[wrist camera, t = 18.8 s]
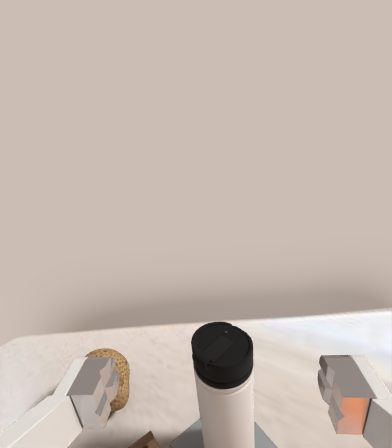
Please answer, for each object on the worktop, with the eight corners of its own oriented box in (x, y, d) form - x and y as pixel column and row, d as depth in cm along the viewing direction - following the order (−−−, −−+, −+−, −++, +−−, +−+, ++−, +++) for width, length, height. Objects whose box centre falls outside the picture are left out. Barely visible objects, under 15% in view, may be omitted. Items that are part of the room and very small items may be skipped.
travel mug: (193, 460, 33) (174, 342, 25) (225, 418, 37) (217, 307, 30) (233, 506, 28) (224, 381, 21) (264, 453, 33) (265, 333, 25)
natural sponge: (92, 377, 46) (77, 335, 43) (140, 374, 46) (130, 331, 42) (69, 434, 38) (48, 387, 34) (128, 430, 37) (114, 383, 34)
